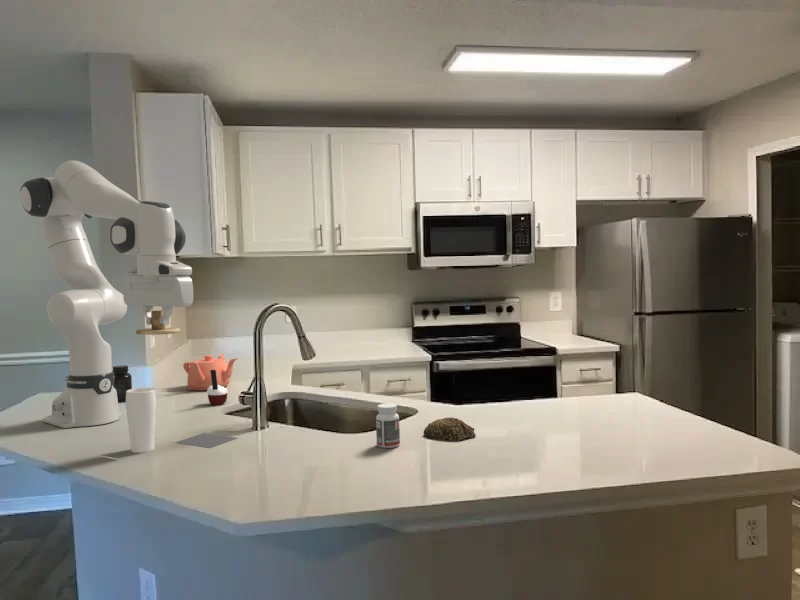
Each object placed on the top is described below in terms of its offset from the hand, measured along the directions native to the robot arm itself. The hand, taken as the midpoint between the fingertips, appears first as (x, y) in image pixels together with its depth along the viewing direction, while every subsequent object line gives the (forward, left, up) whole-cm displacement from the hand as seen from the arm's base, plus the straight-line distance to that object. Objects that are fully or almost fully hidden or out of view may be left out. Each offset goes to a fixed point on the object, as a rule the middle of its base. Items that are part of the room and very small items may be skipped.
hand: (157, 324), depth 152 cm
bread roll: (+60, +41, -31) cm, 79 cm away
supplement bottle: (-60, +36, -31) cm, 77 cm away
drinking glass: (-2, -4, -31) cm, 31 cm away
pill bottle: (+50, +25, -31) cm, 64 cm away
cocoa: (-25, +45, -31) cm, 60 cm away
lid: (0, 0, -2) cm, 2 cm away
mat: (+6, +9, -31) cm, 32 cm away
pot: (-49, +67, -31) cm, 89 cm away
